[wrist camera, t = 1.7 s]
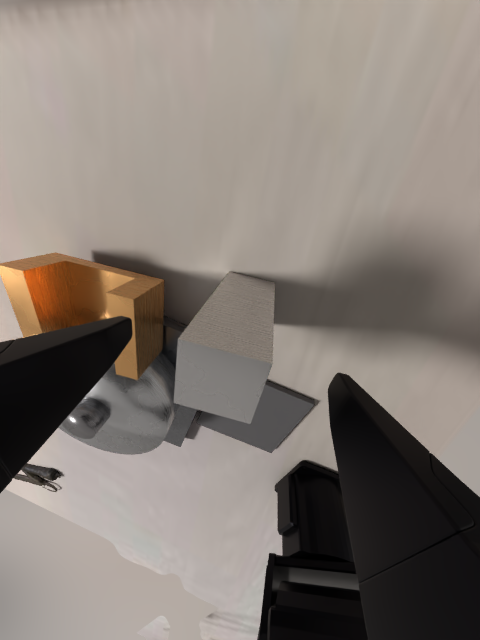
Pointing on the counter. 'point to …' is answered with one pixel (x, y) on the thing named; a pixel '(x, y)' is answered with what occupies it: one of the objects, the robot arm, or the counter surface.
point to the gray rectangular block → (228, 349)
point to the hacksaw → (41, 471)
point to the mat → (264, 418)
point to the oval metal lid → (132, 364)
